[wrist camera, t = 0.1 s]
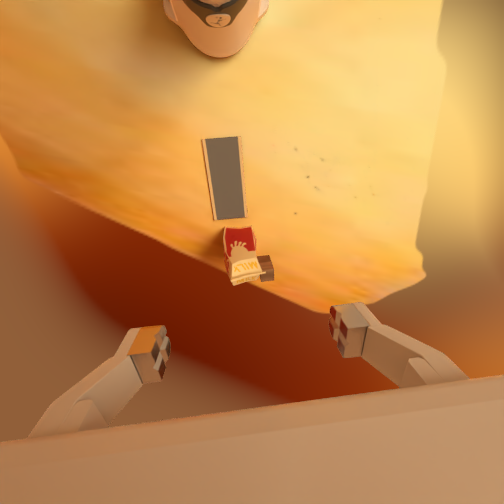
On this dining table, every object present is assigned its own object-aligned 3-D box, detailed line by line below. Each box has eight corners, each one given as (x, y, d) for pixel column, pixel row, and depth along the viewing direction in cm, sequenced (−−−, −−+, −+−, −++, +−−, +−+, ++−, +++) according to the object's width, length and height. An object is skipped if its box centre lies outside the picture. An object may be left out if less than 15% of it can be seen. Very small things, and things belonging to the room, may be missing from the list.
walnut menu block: (257, 256, 64) (260, 270, 57) (269, 255, 65) (273, 269, 57) (257, 267, 66) (261, 281, 59) (269, 265, 66) (274, 280, 59)
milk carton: (225, 257, 64) (222, 300, 46) (222, 226, 60) (219, 260, 42) (256, 255, 64) (266, 297, 46) (256, 225, 60) (267, 258, 42)
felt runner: (202, 139, 50) (202, 139, 50) (240, 136, 51) (240, 136, 50) (214, 219, 59) (214, 220, 58) (247, 216, 59) (247, 216, 59)
